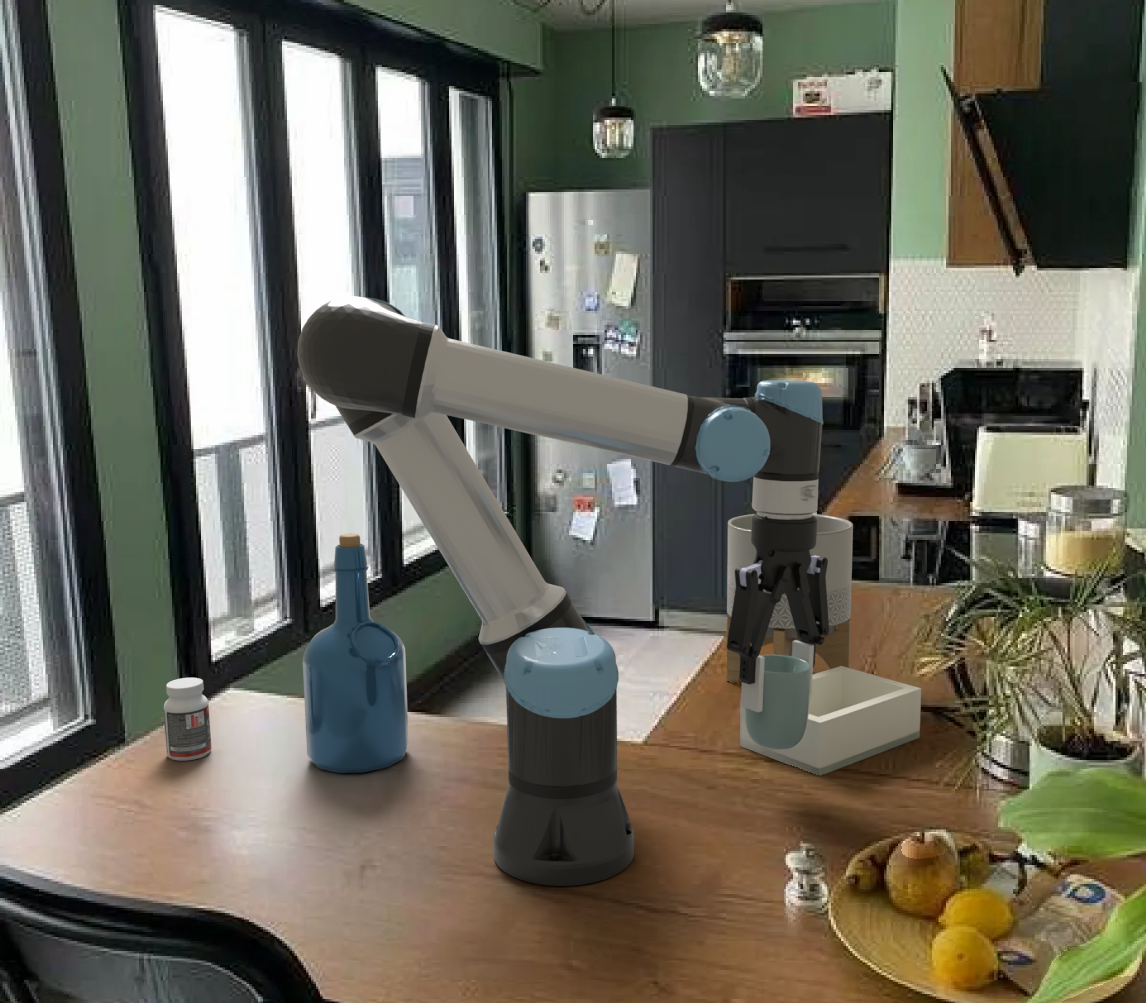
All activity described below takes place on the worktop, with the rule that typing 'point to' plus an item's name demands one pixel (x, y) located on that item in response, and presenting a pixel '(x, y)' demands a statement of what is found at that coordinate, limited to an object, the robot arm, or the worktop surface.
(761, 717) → the cup
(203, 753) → the pill bottle
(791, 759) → the open box
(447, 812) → the worktop surface
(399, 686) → the wine bottle
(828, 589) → the planter
